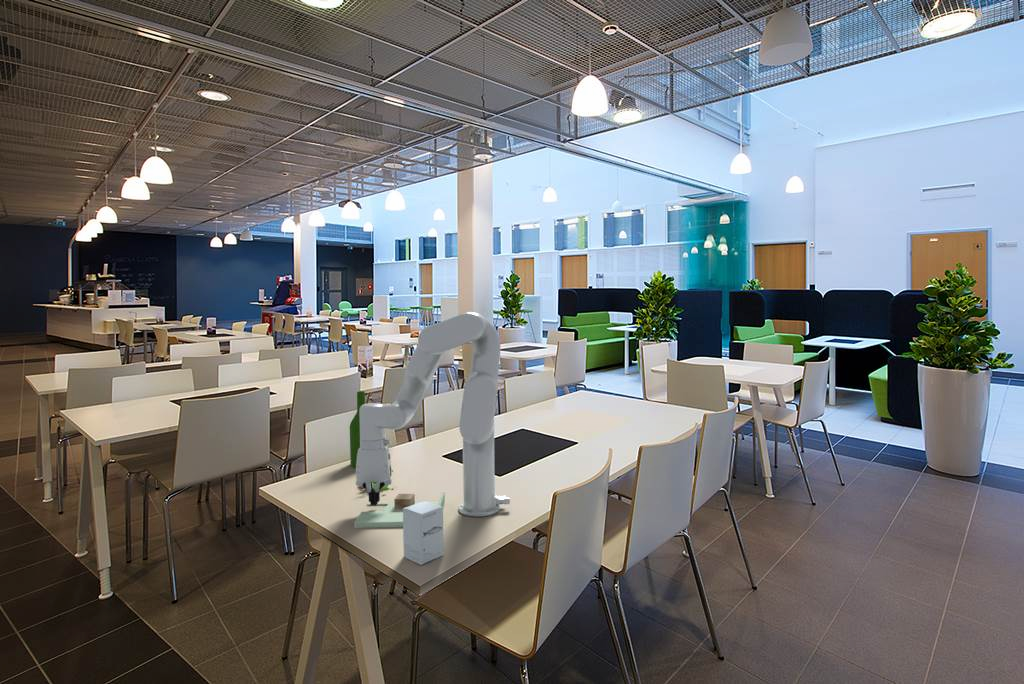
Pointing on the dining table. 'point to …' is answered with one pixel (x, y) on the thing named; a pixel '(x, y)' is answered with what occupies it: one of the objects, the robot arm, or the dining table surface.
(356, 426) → the wine bottle
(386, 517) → the board
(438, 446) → the dining table surface
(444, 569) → the dining table surface
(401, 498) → the walnut block
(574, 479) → the dining table surface
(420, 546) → the supplement box
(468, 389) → the robot arm
